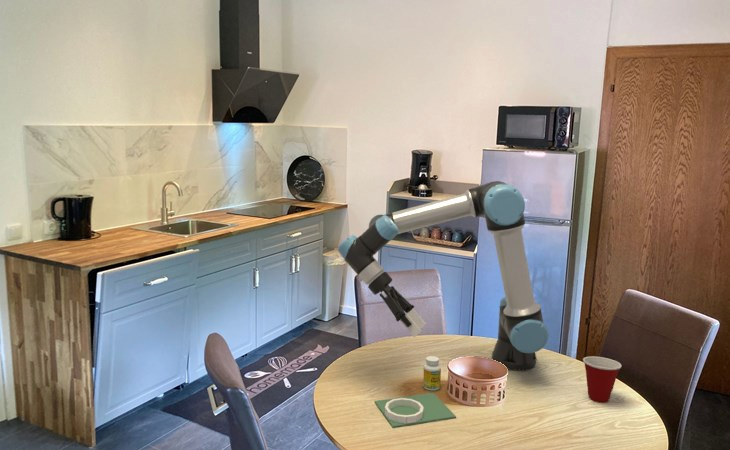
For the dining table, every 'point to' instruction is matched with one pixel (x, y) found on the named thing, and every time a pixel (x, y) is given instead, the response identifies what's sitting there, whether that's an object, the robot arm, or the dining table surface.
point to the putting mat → (431, 411)
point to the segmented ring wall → (404, 418)
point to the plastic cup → (600, 377)
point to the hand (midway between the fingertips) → (420, 330)
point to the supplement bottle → (432, 373)
